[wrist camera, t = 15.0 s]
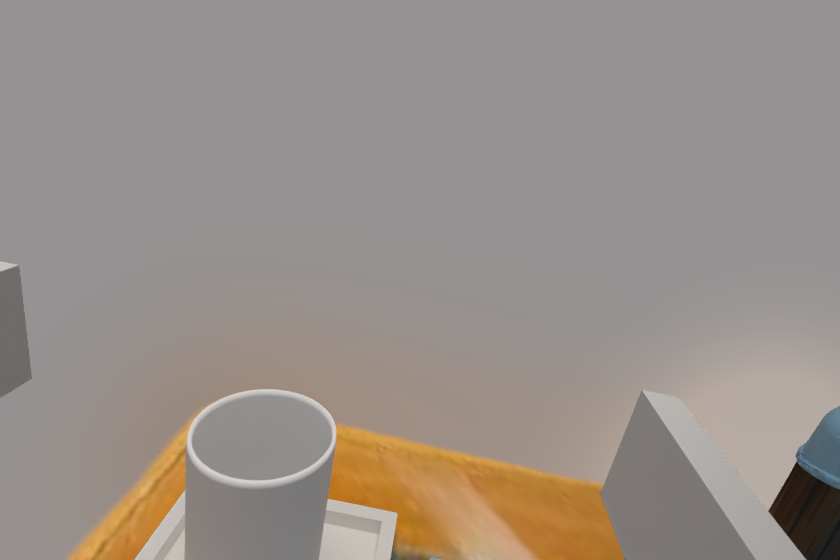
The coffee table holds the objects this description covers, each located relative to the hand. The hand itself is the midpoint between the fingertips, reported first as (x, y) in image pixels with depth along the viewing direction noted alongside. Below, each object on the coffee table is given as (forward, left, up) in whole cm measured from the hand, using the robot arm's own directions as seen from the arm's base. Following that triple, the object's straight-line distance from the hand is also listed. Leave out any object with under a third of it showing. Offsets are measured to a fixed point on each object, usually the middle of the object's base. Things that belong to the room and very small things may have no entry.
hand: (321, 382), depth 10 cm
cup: (-6, -14, -29) cm, 33 cm away
